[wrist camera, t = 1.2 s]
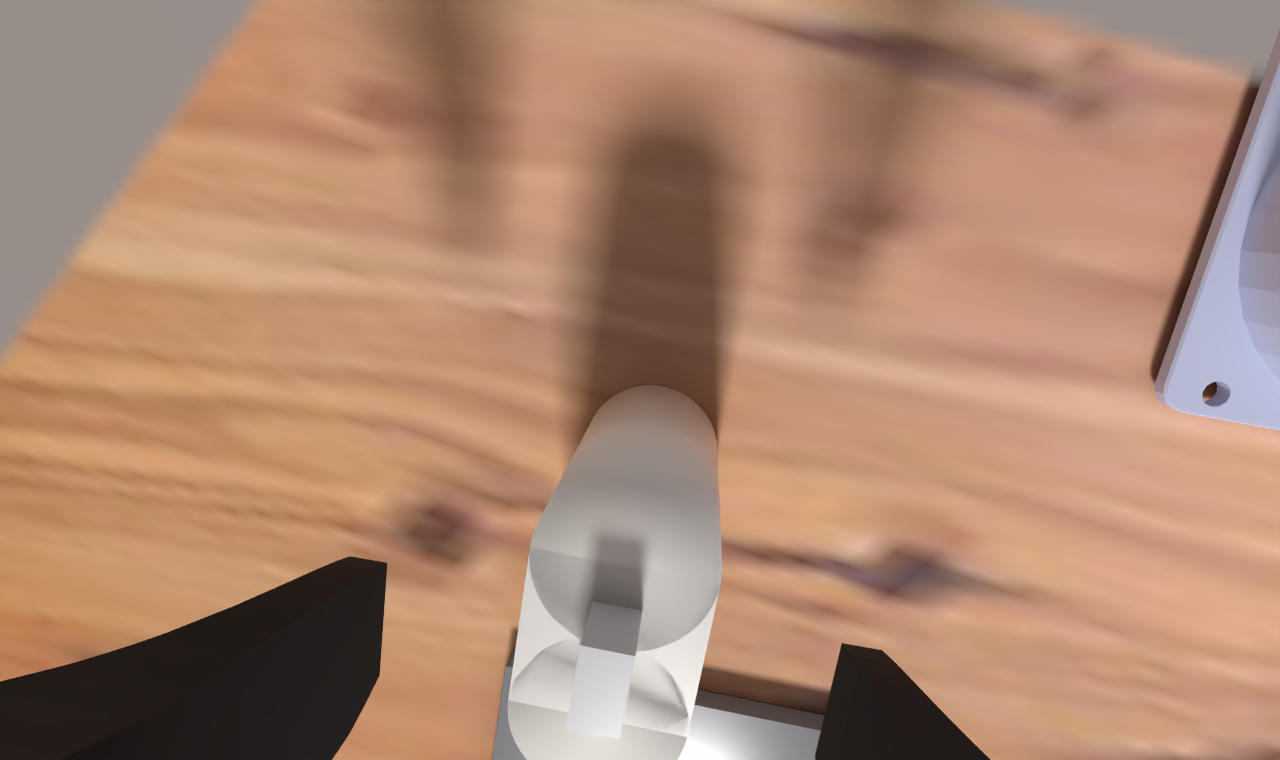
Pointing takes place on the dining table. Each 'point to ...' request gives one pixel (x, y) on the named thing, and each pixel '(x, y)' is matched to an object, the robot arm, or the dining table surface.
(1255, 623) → the dining table surface
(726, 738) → the slate coaster
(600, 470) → the charger plug
